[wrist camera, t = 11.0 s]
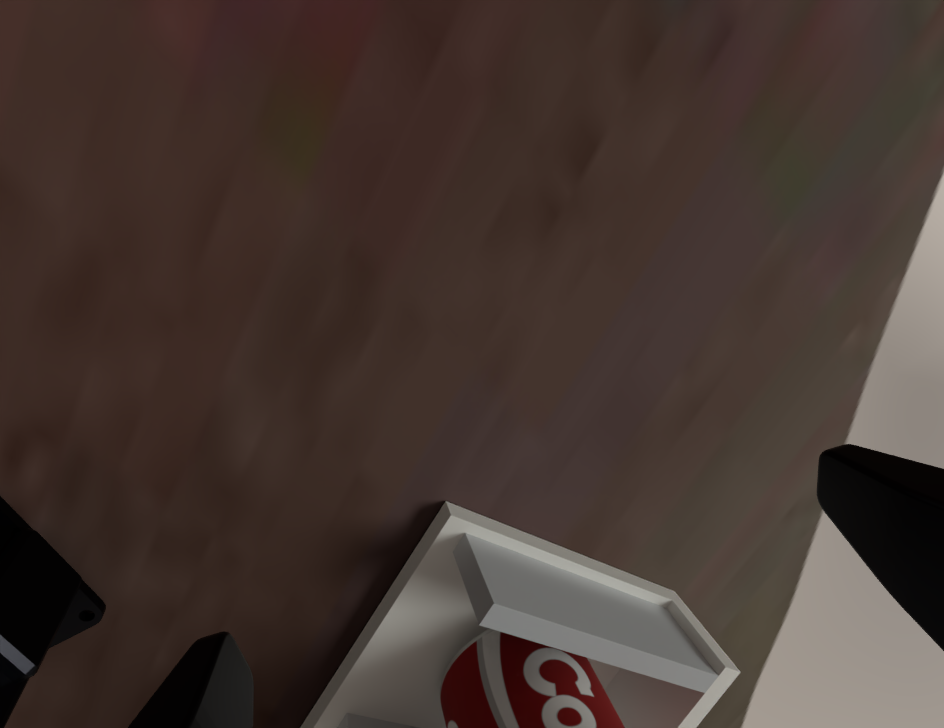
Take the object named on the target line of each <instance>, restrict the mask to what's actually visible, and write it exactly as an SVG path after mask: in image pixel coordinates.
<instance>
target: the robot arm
mask: <svg viewBox="0 0 944 728" xmlns="http://www.w3.org/2000/svg"><path fill="white" fill-rule="evenodd" d="M817 497H818V501H819V504H820V505H821V507H822V509H823V510H824V512H825V513H826V514H827V516H828V517H829V518H830V519H831V520H832V522H833V523H834V524H835V526H836V527H837V528H838V529H839V531H840V532H841V533H842V535H843V536H844V537H845V538H846V540H847V541H848V542H849V543H850V545H851V546H852V547H853V548H854V550H855V551H856V552H857V553H858V555H859V556H860V557H861V559H862V560H863V561H864V562H865V563H866V565H867V566H868V567H869V569H870V570H871V571H872V572H873V574H874V575H875V576H876V577H877V579H878V580H879V581H880V582H881V584H882V585H883V586H884V587H885V588H886V590H887V591H888V592H889V593H890V594H891V595H892V596H893V598H894V599H895V600H896V601H897V602H898V603H899V604H900V605H901V606H902V608H904V610H905V611H906V612H907V613H908V614H909V615H910V616H911V617H912V618H913V619H914V620H915V621H916V622H917V623H918V624H919V625H920V626H921V627H922V629H923V630H924V631H925V632H926V633H927V634H928V635H929V636H930V637H931V638H932V639H933V640H934V641H935V642H936V643H937V644H938V645H939V646H940V648H941V649H942V650H943V651H944V469H942V468H938V467H934V466H931V465H927V464H923V463H919V462H915V461H912V460H908V459H904V458H901V457H897V456H893V455H889V454H886V453H882V452H878V451H874V450H871V449H867V448H863V447H859V446H856V445H851V444H846V445H841V446H838V447H834V448H831V449H828V450H825V451H824V452H822V454H821V455H820V457H819V465H818V480H817ZM85 610H90V611H92V612H94V613H86V612H84V611H85ZM105 610H106V605H105V603H104V602H103V601H102V600H101V598H100V597H99V596H98V595H97V594H96V593H95V592H94V591H93V590H92V589H91V588H90V587H89V586H88V585H87V584H86V583H85V582H84V581H83V580H82V578H81V576H80V575H79V574H78V573H77V572H76V571H75V570H74V569H73V568H72V567H71V566H70V565H69V564H68V563H67V562H66V561H65V560H64V559H63V558H62V557H61V556H60V555H59V554H58V553H57V552H56V551H55V550H54V549H53V548H52V547H51V546H50V545H49V544H48V543H47V541H46V540H45V539H44V538H43V537H42V536H41V535H40V534H39V533H38V532H37V531H35V530H33V529H32V528H31V527H30V526H29V525H28V524H27V523H26V522H25V521H24V520H23V519H22V518H21V517H20V516H19V515H18V514H17V513H16V512H15V511H14V510H13V509H12V508H11V507H10V506H9V505H8V504H7V503H6V501H5V500H4V499H3V498H2V497H1V496H0V728H4V727H5V725H6V723H7V721H8V719H9V717H10V715H11V713H12V711H13V709H14V707H15V705H16V703H17V701H18V699H19V698H20V696H21V694H22V692H23V690H24V688H25V686H26V684H27V682H28V680H29V678H30V677H32V676H34V675H35V674H36V673H37V671H38V669H39V667H40V665H41V663H42V661H43V659H44V657H45V655H46V653H47V651H48V649H49V648H51V647H53V646H55V645H57V644H59V643H61V642H62V641H64V640H66V639H68V638H70V637H72V636H74V635H76V634H78V633H80V632H82V631H84V630H86V629H88V628H90V627H92V626H94V625H96V624H97V623H99V622H100V620H101V619H102V617H103V614H104V612H105ZM253 692H254V686H253V677H252V673H251V670H250V667H249V666H248V664H247V662H246V660H245V658H244V656H243V655H242V653H241V651H240V649H239V647H238V645H237V644H236V642H235V640H234V638H233V637H232V635H231V634H230V633H228V632H219V633H216V634H213V635H210V636H206V637H203V638H200V639H198V640H197V641H196V642H194V644H193V645H192V646H191V647H190V648H189V650H188V651H187V652H186V653H185V655H184V656H183V657H182V659H181V660H180V661H179V662H178V664H177V665H176V666H175V668H174V669H173V670H172V671H171V673H170V674H169V675H168V677H167V678H166V679H165V680H164V682H163V683H162V684H161V686H160V687H159V688H158V689H157V691H156V692H155V693H154V695H153V696H152V697H151V698H150V700H149V701H148V702H147V703H146V705H145V706H144V707H143V709H142V710H141V711H140V712H139V714H138V715H137V716H136V718H135V719H134V720H133V721H132V723H131V724H130V725H129V727H128V728H253Z"/></svg>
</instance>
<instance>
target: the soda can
mask: <svg viewBox="0 0 944 728" xmlns="http://www.w3.org/2000/svg"><path fill="white" fill-rule="evenodd" d="M440 702H441V707H442V711H443V715H444V720H445V724H446V728H625V727H624V725H623V723H622V721H621V719H620V718H619V716H618V714H617V712H616V710H615V708H614V706H613V705H612V703H611V701H610V699H609V697H608V695H607V694H606V692H605V690H604V688H603V686H602V684H601V683H600V681H599V679H598V677H597V675H596V673H595V672H594V670H593V668H592V666H591V664H590V662H589V660H588V659H587V658H586V657H583V656H580V655H576V654H573V653H570V652H566V651H563V650H560V649H556V648H553V647H550V646H546V645H543V644H540V643H536V642H533V641H530V640H527V639H523V638H520V637H517V636H513V635H510V634H507V633H503V632H500V631H497V630H493V629H490V628H489V629H487V630H485V631H484V632H482V633H480V634H479V635H477V636H476V637H474V638H473V639H472V640H470V641H469V642H468V643H467V644H466V645H464V646H463V647H462V648H461V649H460V650H459V651H458V653H457V654H456V655H455V656H454V657H453V659H452V660H451V662H450V663H449V665H448V667H447V669H446V671H445V673H444V675H443V678H442V681H441V686H440Z"/></svg>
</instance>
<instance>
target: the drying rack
mask: <svg viewBox="0 0 944 728" xmlns="http://www.w3.org/2000/svg"><path fill="white" fill-rule="evenodd" d="M489 628H490V629H493V630H497V631H500V632H503V633H507V634H510V635H513V636H517V637H520V638H523V639H527V640H530V641H533V642H536V643H540V644H543V645H546V646H550V647H553V648H556V649H560V650H563V651H566V652H570V653H573V654H576V655H580V656H583V657H586V658H587V659H588V660H589V662H590V664H591V666H592V668H593V670H594V672H595V673H596V675H597V677H598V679H599V681H600V683H601V684H602V686H603V688H604V690H605V692H606V694H607V695H608V697H609V699H610V701H611V703H612V705H613V706H614V708H615V710H616V712H617V714H618V716H619V718H620V719H621V721H622V723H623V725H624V727H625V728H696V727H697V726H698V725H699V723H700V722H701V721H702V720H703V718H704V717H705V716H706V715H707V713H708V712H709V711H710V710H711V708H712V707H713V706H714V705H715V703H716V702H717V701H718V700H719V698H720V697H721V696H722V695H723V693H724V692H725V691H726V690H727V688H728V687H729V686H730V685H731V683H732V682H733V681H734V680H735V678H736V677H737V676H738V675H739V674H740V671H739V670H738V668H737V667H736V666H735V665H734V663H733V662H732V661H731V660H730V659H729V657H728V656H727V655H726V654H725V652H724V651H723V650H722V649H721V648H720V646H719V645H718V644H717V643H716V641H715V640H714V639H713V638H712V637H711V635H710V634H709V633H708V632H707V630H706V629H705V628H704V627H703V626H702V624H701V623H700V622H699V621H698V619H697V618H696V617H695V616H694V615H693V613H692V612H691V611H690V610H689V608H688V607H687V606H686V605H685V604H684V602H683V601H682V600H681V599H680V597H679V596H678V595H677V594H676V593H675V591H672V590H670V589H667V588H665V587H662V586H660V585H657V584H655V583H652V582H650V581H647V580H645V579H642V578H640V577H637V576H634V575H632V574H629V573H627V572H624V571H622V570H619V569H617V568H614V567H612V566H609V565H607V564H604V563H601V562H599V561H596V560H594V559H591V558H589V557H586V556H584V555H581V554H579V553H576V552H574V551H571V550H569V549H566V548H563V547H561V546H558V545H556V544H553V543H551V542H548V541H546V540H543V539H541V538H538V537H536V536H533V535H531V534H528V533H525V532H523V531H520V530H518V529H515V528H513V527H510V526H508V525H505V524H503V523H500V522H498V521H495V520H492V519H490V518H487V517H485V516H482V515H480V514H477V513H475V512H472V511H470V510H467V509H465V508H462V507H460V506H457V505H454V504H452V503H449V502H447V501H445V503H444V504H443V506H442V507H441V509H440V511H439V512H438V514H437V515H436V517H435V518H434V520H433V521H432V523H431V525H430V526H429V528H428V529H427V531H426V532H425V534H424V536H423V537H422V539H421V540H420V542H419V543H418V545H417V546H416V548H415V550H414V551H413V553H412V554H411V556H410V557H409V559H408V560H407V562H406V564H405V565H404V567H403V568H402V570H401V571H400V573H399V574H398V576H397V578H396V579H395V581H394V582H393V584H392V585H391V587H390V589H389V590H388V592H387V593H386V595H385V596H384V598H383V599H382V601H381V603H380V604H379V606H378V607H377V609H376V610H375V612H374V613H373V615H372V617H371V618H370V620H369V621H368V623H367V624H366V626H365V628H364V629H363V631H362V632H361V634H360V635H359V637H358V638H357V640H356V642H355V643H354V645H353V646H352V648H351V649H350V651H349V652H348V654H347V656H346V657H345V659H344V660H343V662H342V663H341V665H340V666H339V668H338V670H337V671H336V673H335V674H334V676H333V677H332V679H331V681H330V682H329V684H328V685H327V687H326V688H325V690H324V691H323V693H322V695H321V696H320V698H319V699H318V701H317V702H316V704H315V705H314V707H313V709H312V710H311V712H310V713H309V715H308V716H307V718H306V719H305V721H304V723H303V724H302V726H301V727H300V728H446V724H445V720H444V715H443V711H442V707H441V702H440V686H441V681H442V678H443V675H444V673H445V671H446V669H447V667H448V665H449V663H450V662H451V660H452V659H453V657H454V656H455V655H456V654H457V653H458V651H459V650H460V649H461V648H462V647H463V646H464V645H466V644H467V643H468V642H469V641H470V640H472V639H473V638H474V637H476V636H477V635H479V634H480V633H482V632H484V631H485V630H487V629H489Z"/></svg>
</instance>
